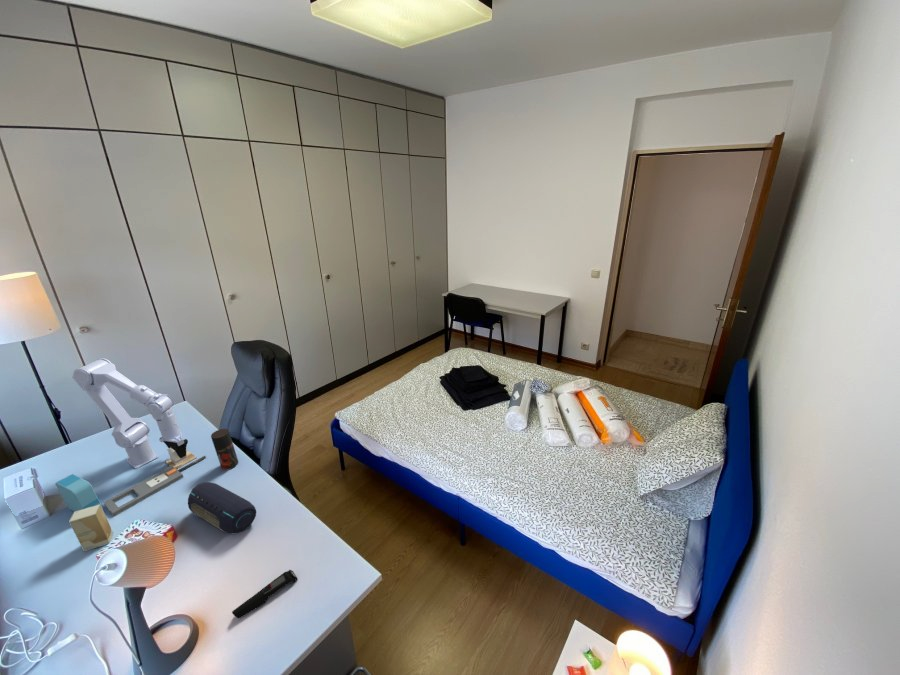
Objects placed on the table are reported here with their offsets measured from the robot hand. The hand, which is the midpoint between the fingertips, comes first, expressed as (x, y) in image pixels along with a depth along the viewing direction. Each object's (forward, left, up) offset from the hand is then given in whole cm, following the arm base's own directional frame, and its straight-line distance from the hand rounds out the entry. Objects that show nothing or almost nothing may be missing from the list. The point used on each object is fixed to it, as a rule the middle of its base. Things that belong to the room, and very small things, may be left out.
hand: (178, 453), depth 145 cm
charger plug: (0, 0, -3) cm, 3 cm away
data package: (-1, -29, -4) cm, 29 cm away
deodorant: (+20, +9, -4) cm, 22 cm away
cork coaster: (0, 0, -3) cm, 3 cm away
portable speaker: (+45, -6, -4) cm, 45 cm away
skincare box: (+20, -31, -4) cm, 37 cm away
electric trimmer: (+81, -13, -4) cm, 82 cm away
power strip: (+7, -10, -3) cm, 12 cm away
